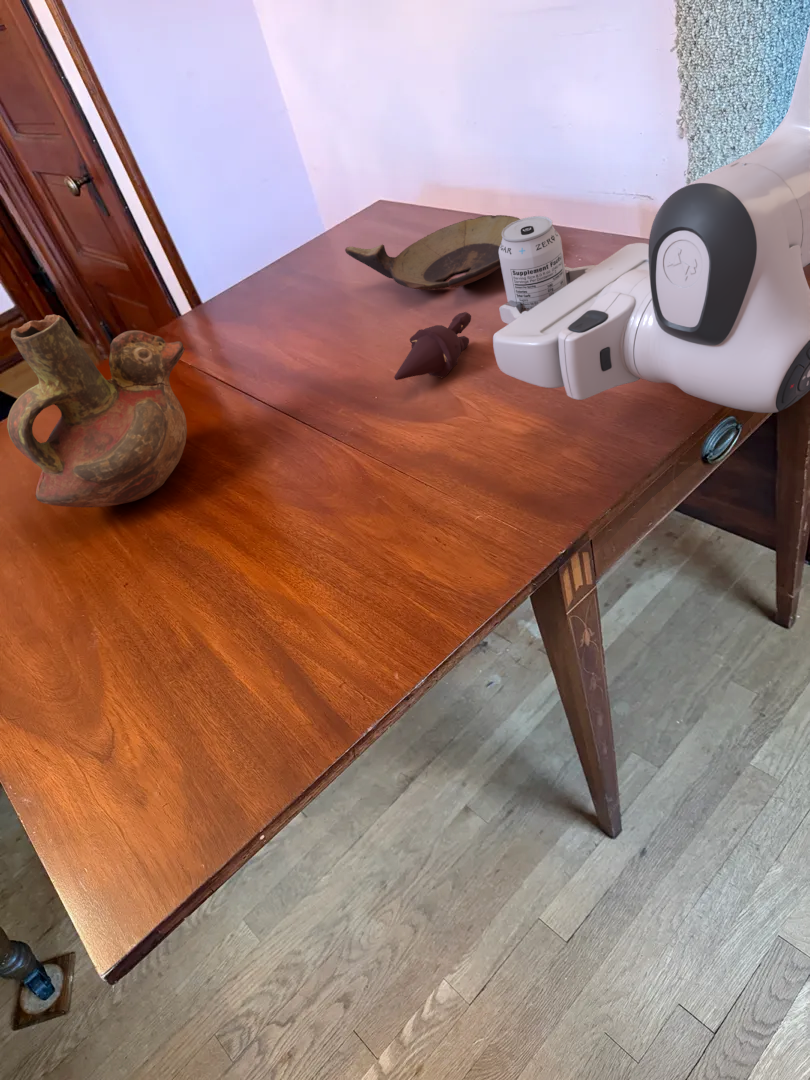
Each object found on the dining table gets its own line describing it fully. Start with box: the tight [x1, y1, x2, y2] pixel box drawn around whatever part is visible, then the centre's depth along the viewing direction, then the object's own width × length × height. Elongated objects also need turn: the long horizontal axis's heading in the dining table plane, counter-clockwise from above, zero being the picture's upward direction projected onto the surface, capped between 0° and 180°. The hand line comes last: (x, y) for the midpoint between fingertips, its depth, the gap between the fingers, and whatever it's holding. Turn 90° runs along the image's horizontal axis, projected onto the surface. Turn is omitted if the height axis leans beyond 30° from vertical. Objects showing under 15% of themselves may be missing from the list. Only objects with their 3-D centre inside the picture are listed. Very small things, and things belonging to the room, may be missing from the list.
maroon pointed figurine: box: [393, 311, 472, 381], centre depth 101 cm, size 7×7×15 cm
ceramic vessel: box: [6, 314, 188, 508], centre depth 94 cm, size 17×26×25 cm, turn 132°
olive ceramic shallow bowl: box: [344, 214, 521, 291], centre depth 122 cm, size 22×30×8 cm
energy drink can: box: [499, 215, 567, 312], centre depth 76 cm, size 6×6×15 cm
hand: (530, 293), depth 76 cm, fingers closed on energy drink can, 6 cm apart
